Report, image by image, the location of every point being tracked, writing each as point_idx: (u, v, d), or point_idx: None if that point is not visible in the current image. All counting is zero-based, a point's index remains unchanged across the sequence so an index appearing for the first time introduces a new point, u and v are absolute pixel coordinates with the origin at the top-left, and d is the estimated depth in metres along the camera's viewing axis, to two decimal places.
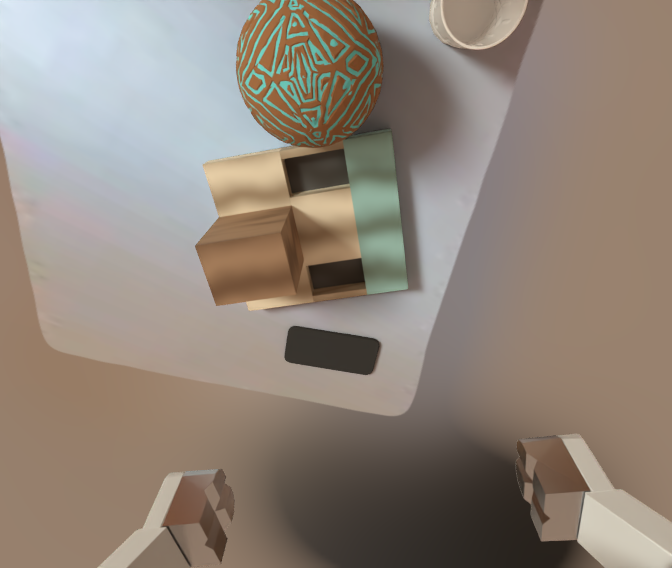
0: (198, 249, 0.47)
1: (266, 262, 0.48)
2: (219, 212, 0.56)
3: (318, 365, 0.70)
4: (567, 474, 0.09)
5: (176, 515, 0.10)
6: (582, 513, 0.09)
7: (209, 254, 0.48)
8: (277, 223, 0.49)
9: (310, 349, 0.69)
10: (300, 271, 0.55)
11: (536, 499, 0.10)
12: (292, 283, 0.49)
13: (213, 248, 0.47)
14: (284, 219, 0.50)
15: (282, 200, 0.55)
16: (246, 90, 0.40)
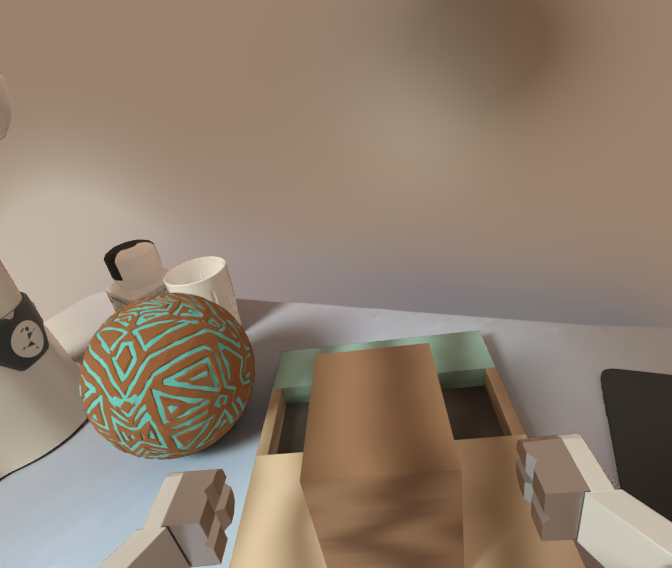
0: (309, 475, 0.21)
1: (362, 374, 0.27)
2: None
3: None
4: (567, 474, 0.09)
5: (176, 516, 0.10)
6: (582, 513, 0.09)
7: (325, 457, 0.22)
8: None
9: None
10: None
11: (536, 499, 0.10)
12: (406, 346, 0.29)
13: (314, 447, 0.23)
14: None
15: None
16: (130, 382, 0.32)
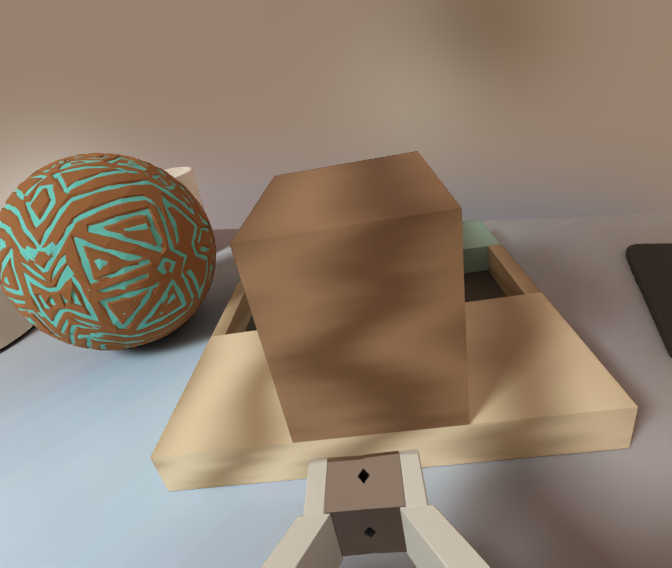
0: (244, 239, 0.15)
1: (331, 176, 0.21)
2: (280, 440, 0.19)
3: None
4: (391, 489, 0.10)
5: (336, 502, 0.10)
6: (403, 527, 0.10)
7: (269, 225, 0.16)
8: None
9: None
10: None
11: None
12: (389, 156, 0.23)
13: (256, 222, 0.16)
14: None
15: None
16: (46, 228, 0.25)
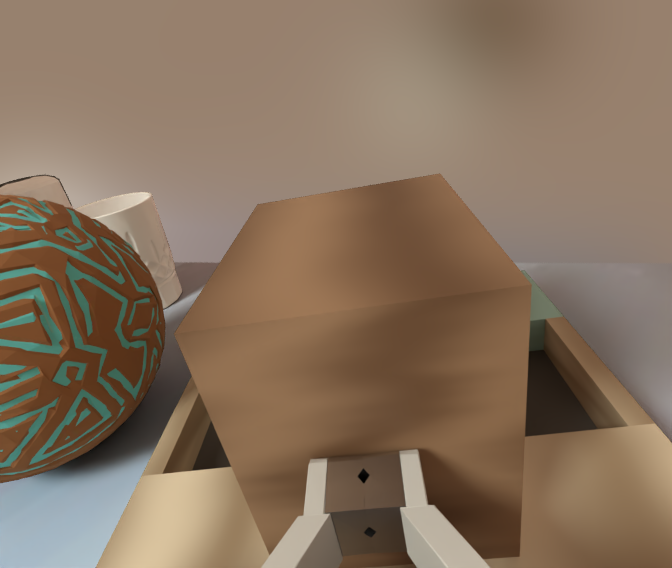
0: (196, 324, 0.10)
1: (329, 210, 0.16)
2: None
3: None
4: (391, 489, 0.10)
5: (336, 502, 0.10)
6: (403, 527, 0.10)
7: (237, 298, 0.11)
8: None
9: None
10: None
11: None
12: (403, 180, 0.18)
13: (220, 289, 0.11)
14: None
15: None
16: None
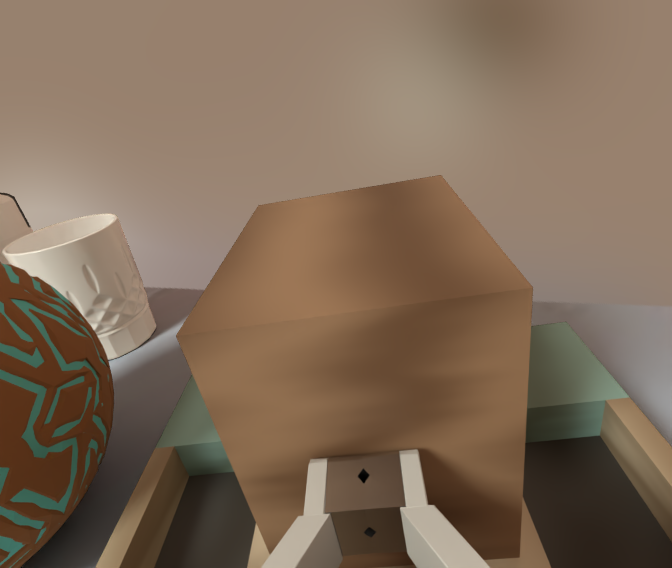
0: (198, 326, 0.10)
1: (329, 211, 0.16)
2: None
3: None
4: (391, 489, 0.10)
5: (336, 502, 0.10)
6: (403, 527, 0.10)
7: (239, 300, 0.11)
8: None
9: None
10: None
11: None
12: (404, 182, 0.18)
13: (222, 290, 0.11)
14: None
15: None
16: None
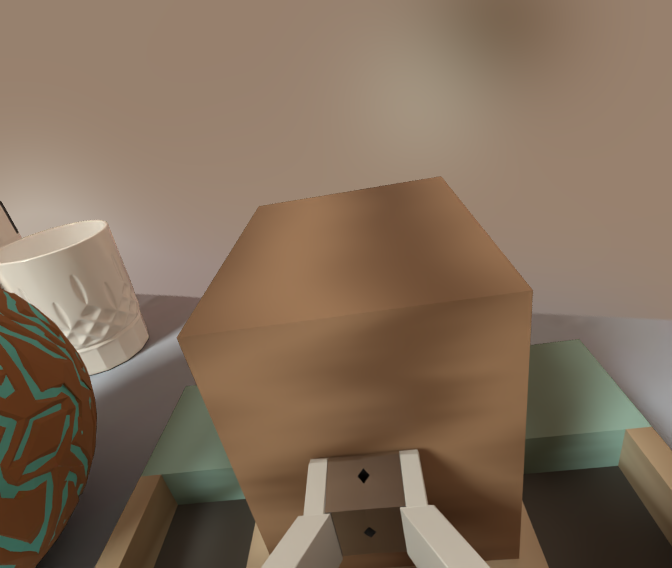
0: (199, 328, 0.10)
1: (330, 212, 0.16)
2: None
3: None
4: (391, 489, 0.10)
5: (336, 501, 0.10)
6: (403, 527, 0.10)
7: (240, 302, 0.11)
8: None
9: None
10: None
11: None
12: (404, 183, 0.18)
13: (222, 292, 0.11)
14: None
15: None
16: None
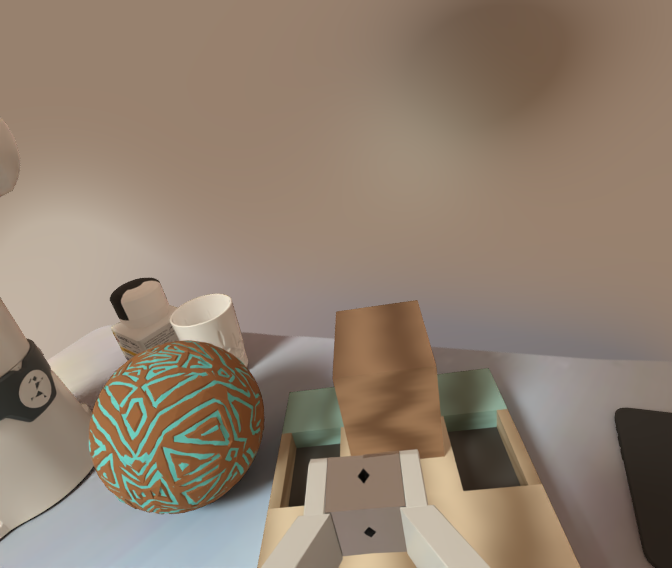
0: (338, 375, 0.33)
1: (370, 320, 0.39)
2: None
3: None
4: (391, 489, 0.10)
5: (336, 502, 0.10)
6: (403, 527, 0.10)
7: (348, 366, 0.33)
8: None
9: None
10: None
11: None
12: (401, 303, 0.41)
13: (340, 361, 0.34)
14: None
15: None
16: (141, 440, 0.31)
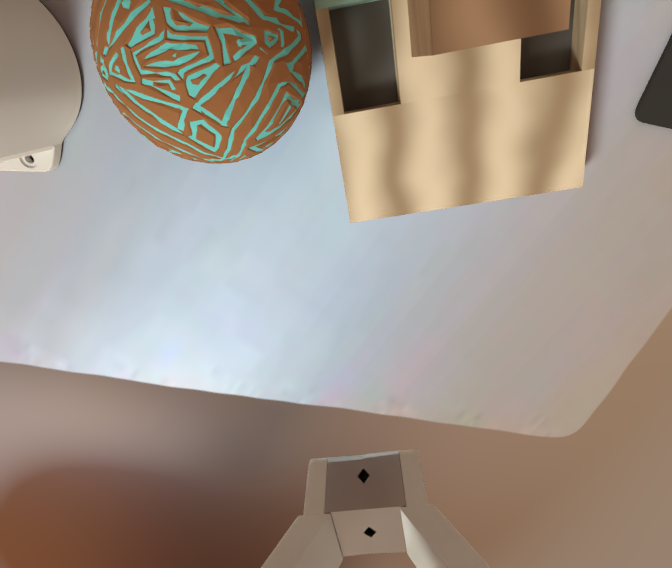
0: (440, 49, 0.25)
1: None
2: (414, 210, 0.41)
3: None
4: (391, 489, 0.10)
5: (336, 502, 0.10)
6: (403, 527, 0.10)
7: (452, 27, 0.25)
8: None
9: None
10: None
11: None
12: None
13: (440, 15, 0.25)
14: None
15: (404, 115, 0.37)
16: (224, 150, 0.29)
